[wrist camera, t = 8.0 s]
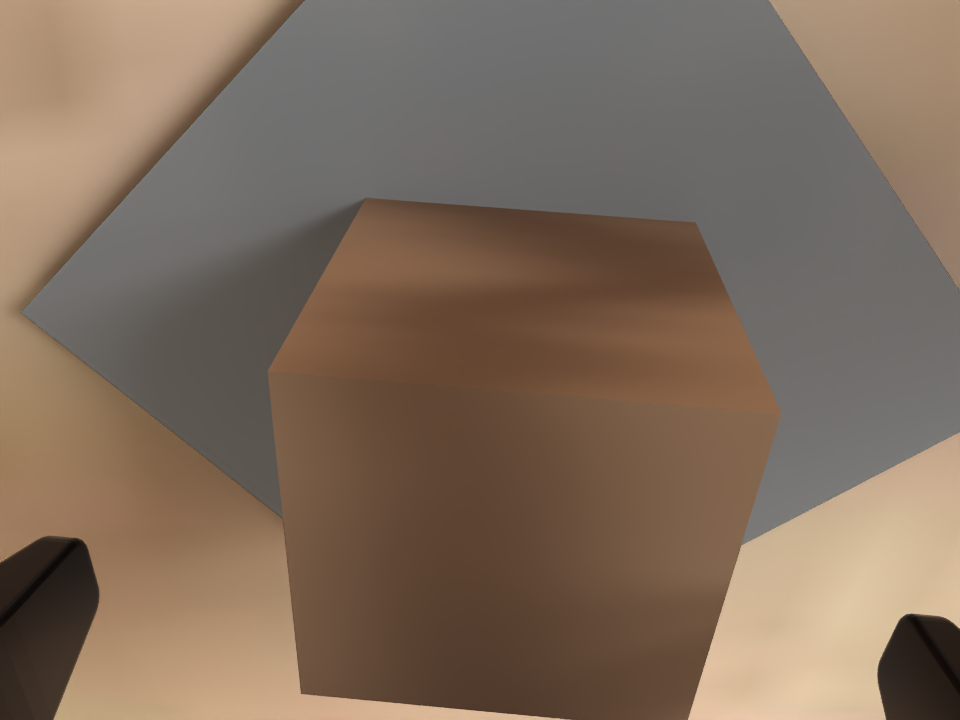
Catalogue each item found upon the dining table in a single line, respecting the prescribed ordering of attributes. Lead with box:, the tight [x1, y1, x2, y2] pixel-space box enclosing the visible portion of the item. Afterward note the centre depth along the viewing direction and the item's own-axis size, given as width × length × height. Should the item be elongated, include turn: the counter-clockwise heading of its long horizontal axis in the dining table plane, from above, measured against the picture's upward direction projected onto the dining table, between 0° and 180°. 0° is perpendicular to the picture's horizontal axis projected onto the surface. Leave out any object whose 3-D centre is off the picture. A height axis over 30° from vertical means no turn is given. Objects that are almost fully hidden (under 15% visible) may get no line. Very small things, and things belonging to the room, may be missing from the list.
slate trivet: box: [21, 0, 960, 545], centre depth 14 cm, size 12×12×1 cm
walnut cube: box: [268, 198, 782, 720], centre depth 11 cm, size 5×5×5 cm
